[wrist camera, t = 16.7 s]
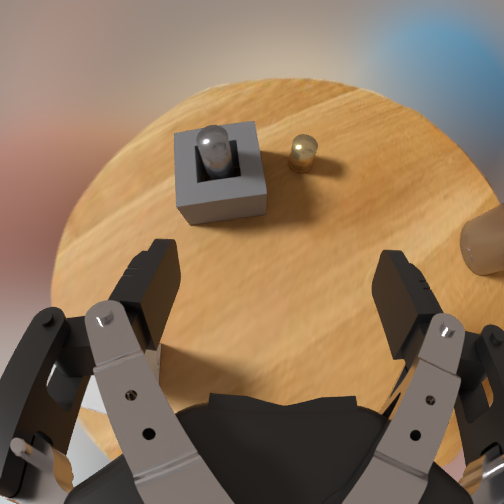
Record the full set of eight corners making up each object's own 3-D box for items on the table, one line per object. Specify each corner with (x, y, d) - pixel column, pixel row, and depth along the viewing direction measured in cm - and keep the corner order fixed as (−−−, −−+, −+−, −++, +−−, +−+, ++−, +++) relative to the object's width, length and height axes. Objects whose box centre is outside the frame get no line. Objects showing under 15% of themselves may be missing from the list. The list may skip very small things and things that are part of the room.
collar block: (255, 149, 40) (254, 120, 33) (265, 214, 38) (267, 193, 31) (186, 159, 40) (174, 133, 33) (190, 225, 38) (176, 207, 31)
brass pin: (308, 152, 40) (314, 133, 35) (313, 172, 40) (320, 154, 35) (287, 154, 40) (290, 135, 35) (291, 174, 39) (295, 156, 35)
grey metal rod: (234, 173, 40) (226, 123, 28) (237, 195, 39) (229, 148, 27) (211, 177, 40) (195, 128, 28) (213, 198, 39) (196, 153, 27)
